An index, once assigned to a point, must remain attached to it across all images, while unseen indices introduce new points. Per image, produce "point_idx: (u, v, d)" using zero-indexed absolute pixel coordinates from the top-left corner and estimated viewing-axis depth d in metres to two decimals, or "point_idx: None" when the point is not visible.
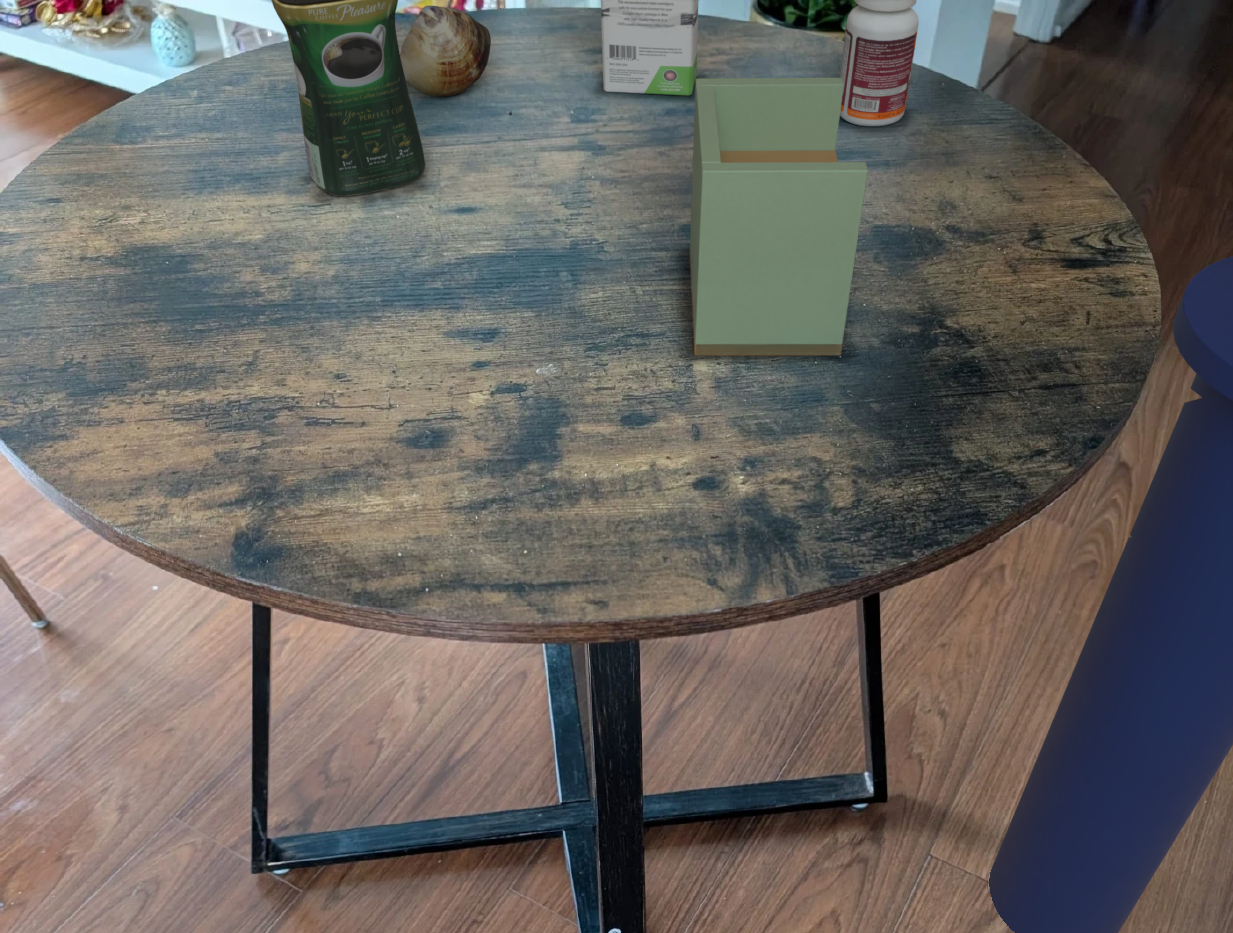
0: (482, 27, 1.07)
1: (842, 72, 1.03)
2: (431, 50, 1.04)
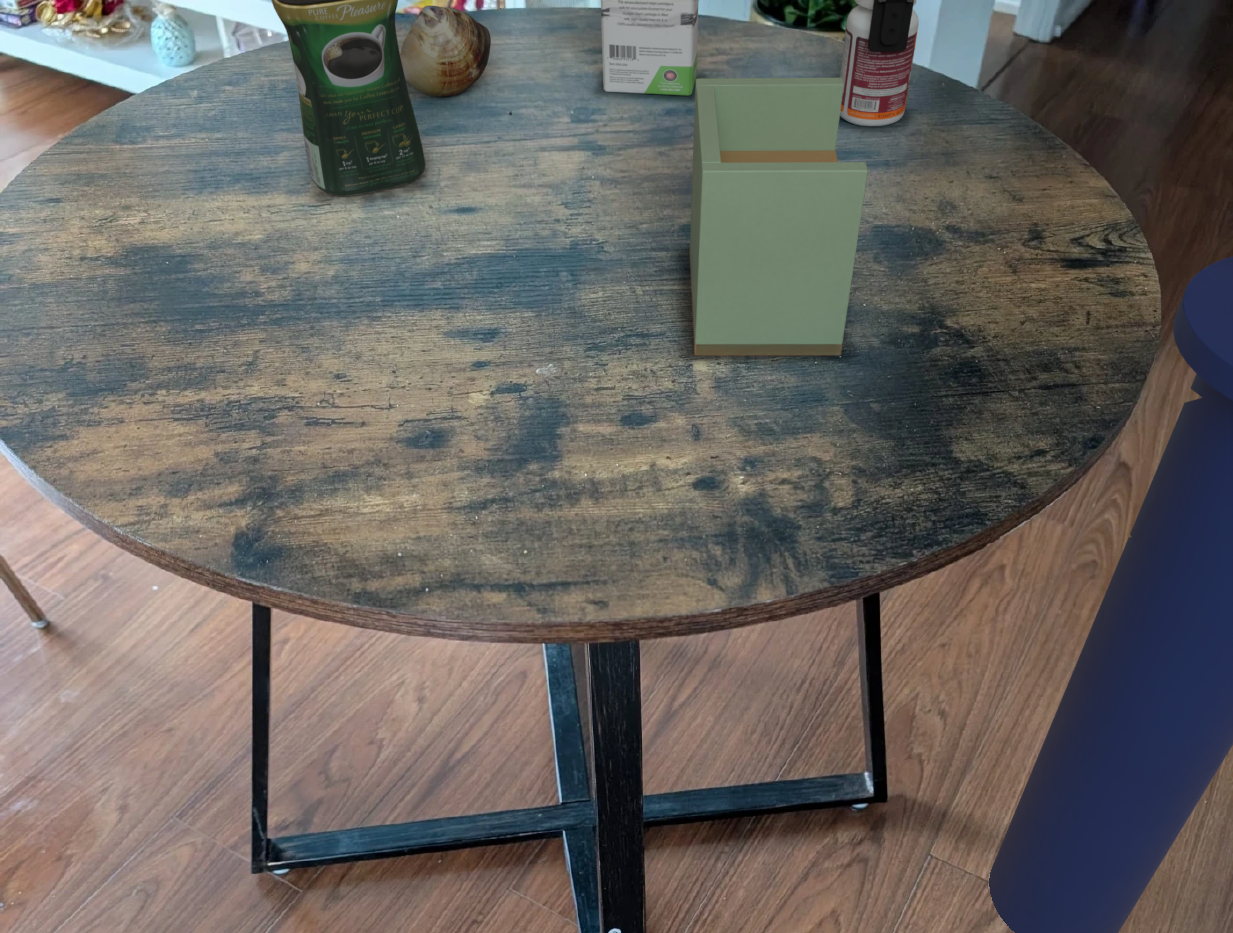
0: (482, 27, 1.07)
1: (842, 72, 1.03)
2: (431, 50, 1.04)
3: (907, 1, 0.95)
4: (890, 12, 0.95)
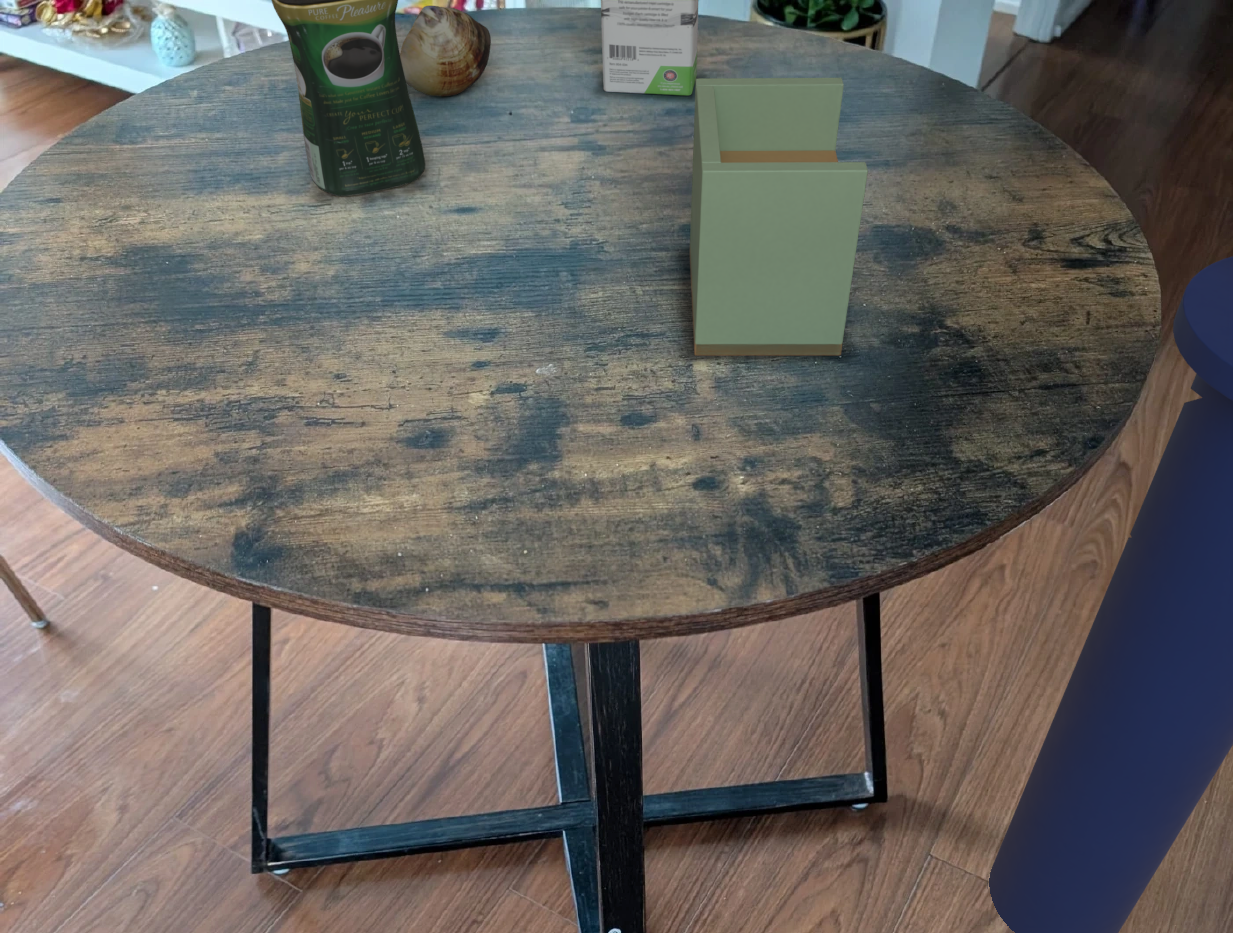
0: (482, 27, 1.07)
1: None
2: (431, 50, 1.04)
3: None
4: None
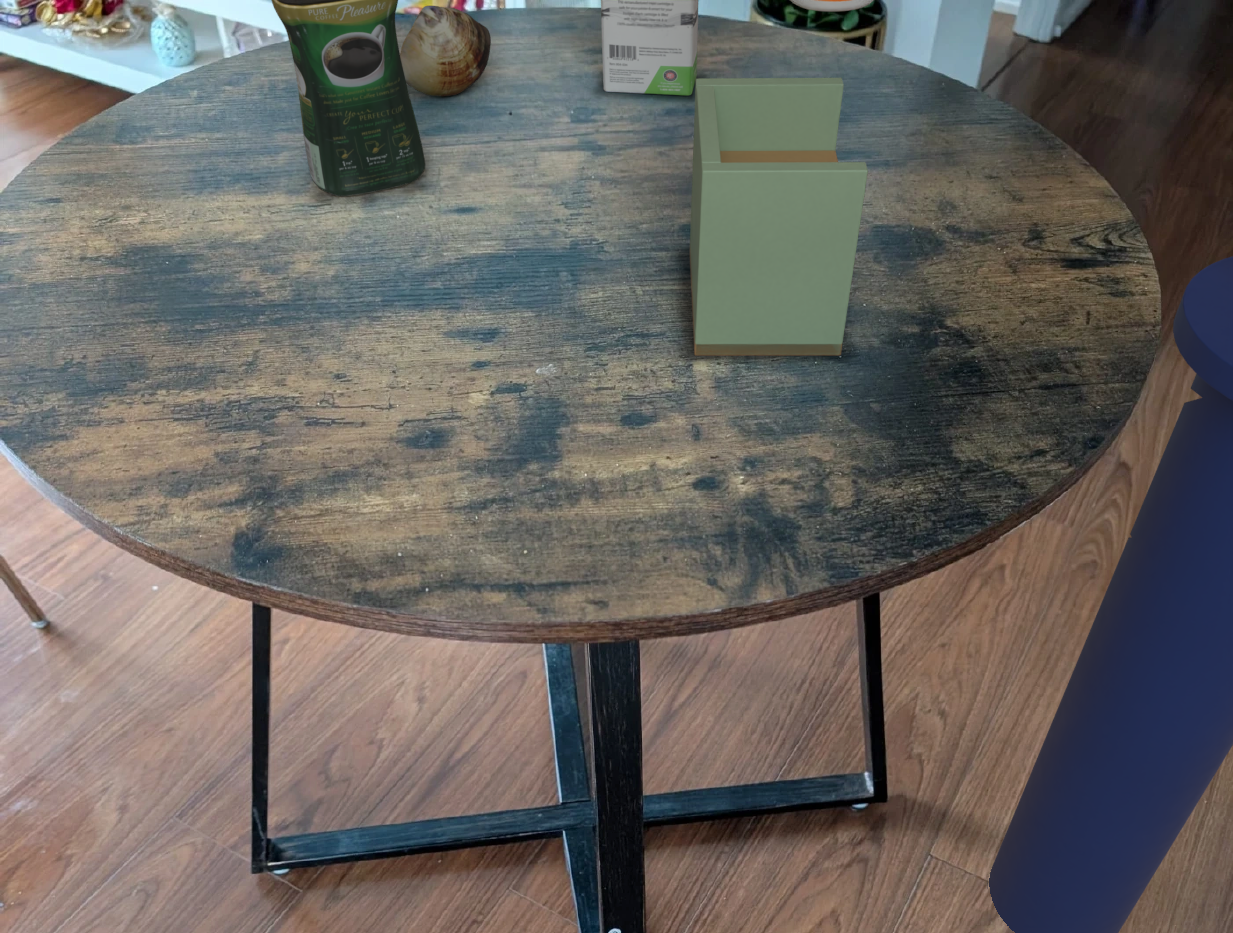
0: (482, 27, 1.07)
1: None
2: (431, 50, 1.04)
3: None
4: None
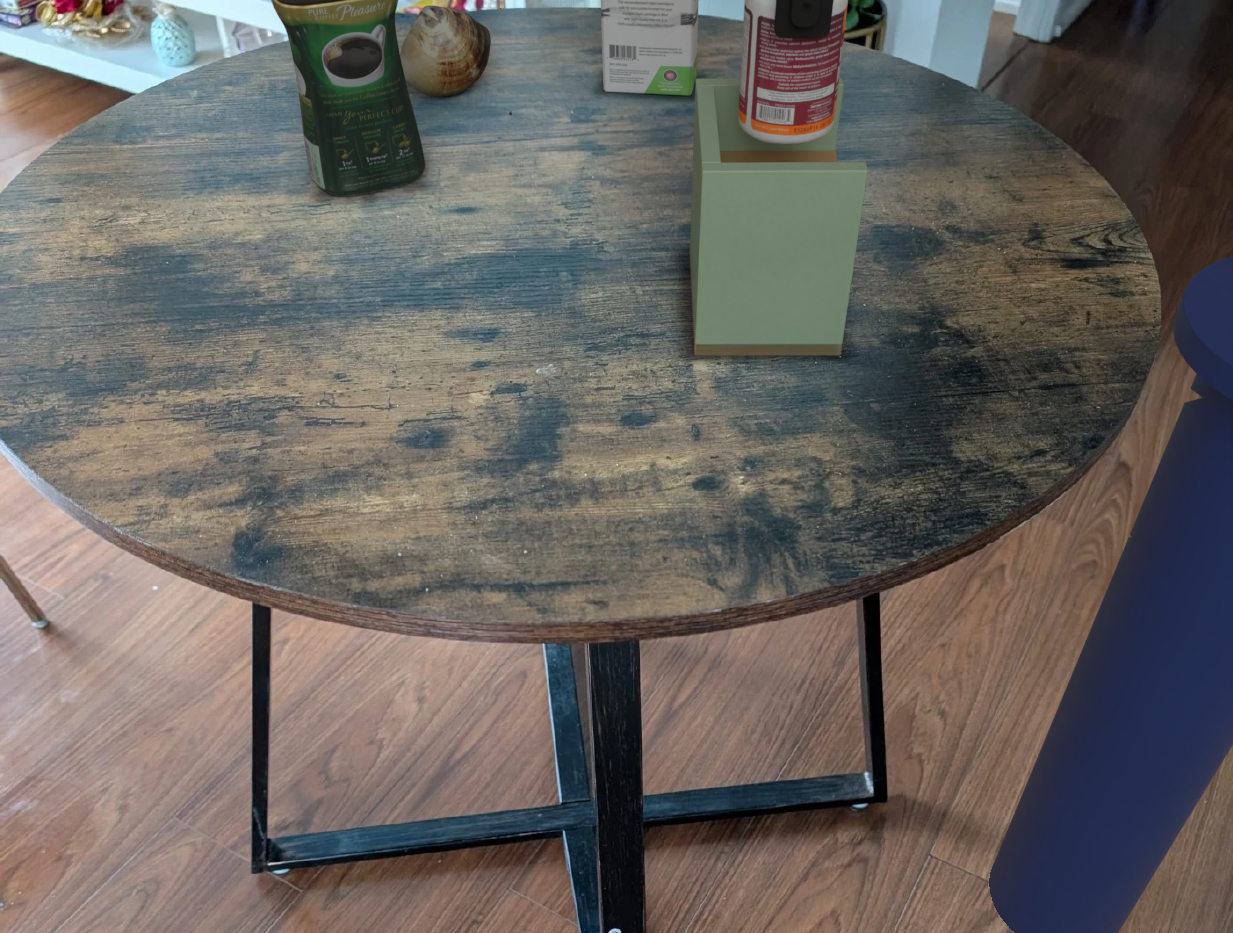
0: (482, 27, 1.07)
1: (742, 67, 0.72)
2: (431, 50, 1.04)
3: None
4: None
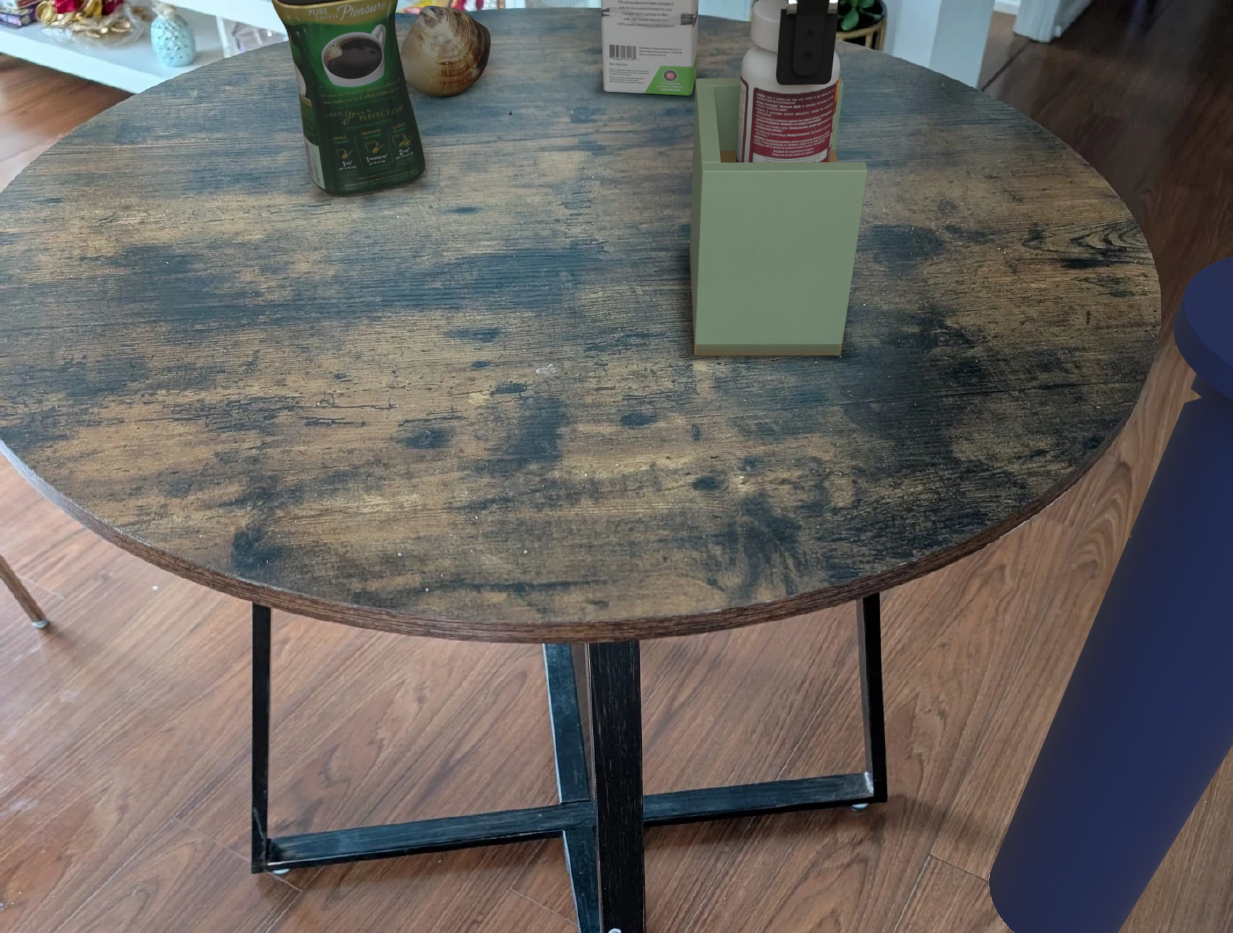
0: (482, 27, 1.07)
1: (739, 134, 0.75)
2: (431, 50, 1.04)
3: (829, 10, 0.64)
4: (804, 29, 0.65)
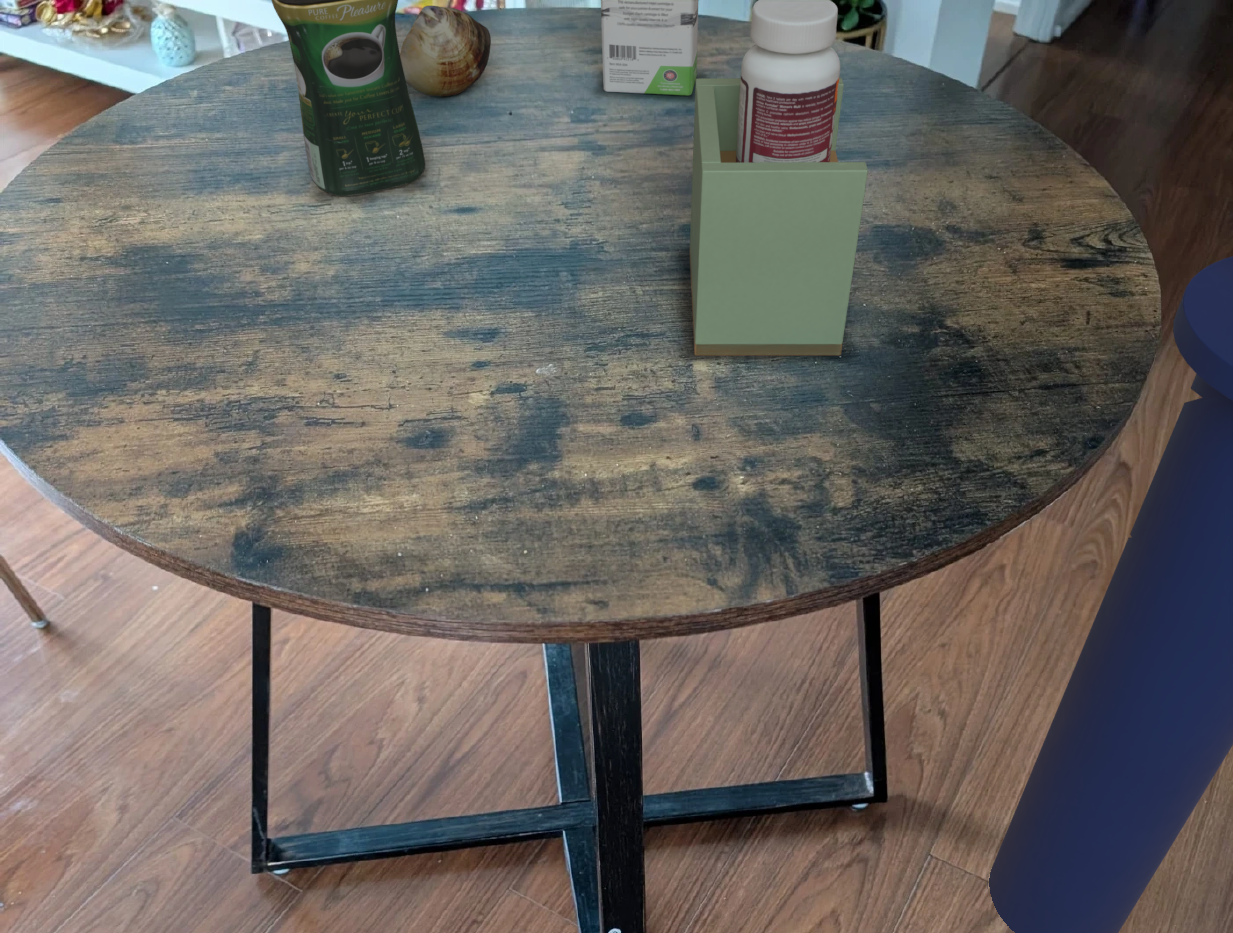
0: (482, 27, 1.07)
1: (739, 134, 0.75)
2: (431, 50, 1.04)
3: None
4: None
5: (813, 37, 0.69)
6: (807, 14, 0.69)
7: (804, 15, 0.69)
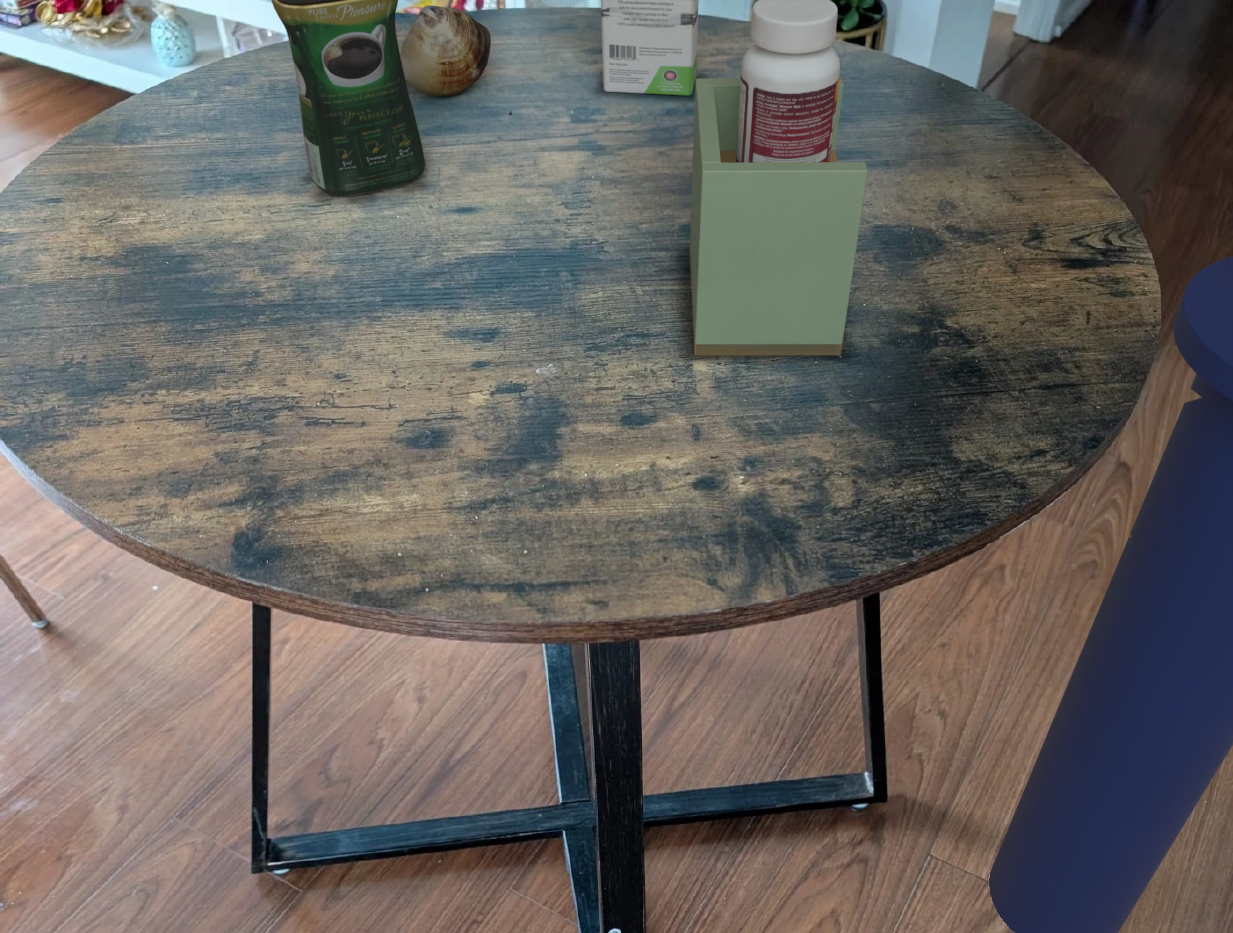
0: (482, 27, 1.07)
1: (739, 134, 0.75)
2: (431, 50, 1.04)
3: None
4: None
5: (813, 37, 0.69)
6: (807, 14, 0.69)
7: (804, 15, 0.69)
